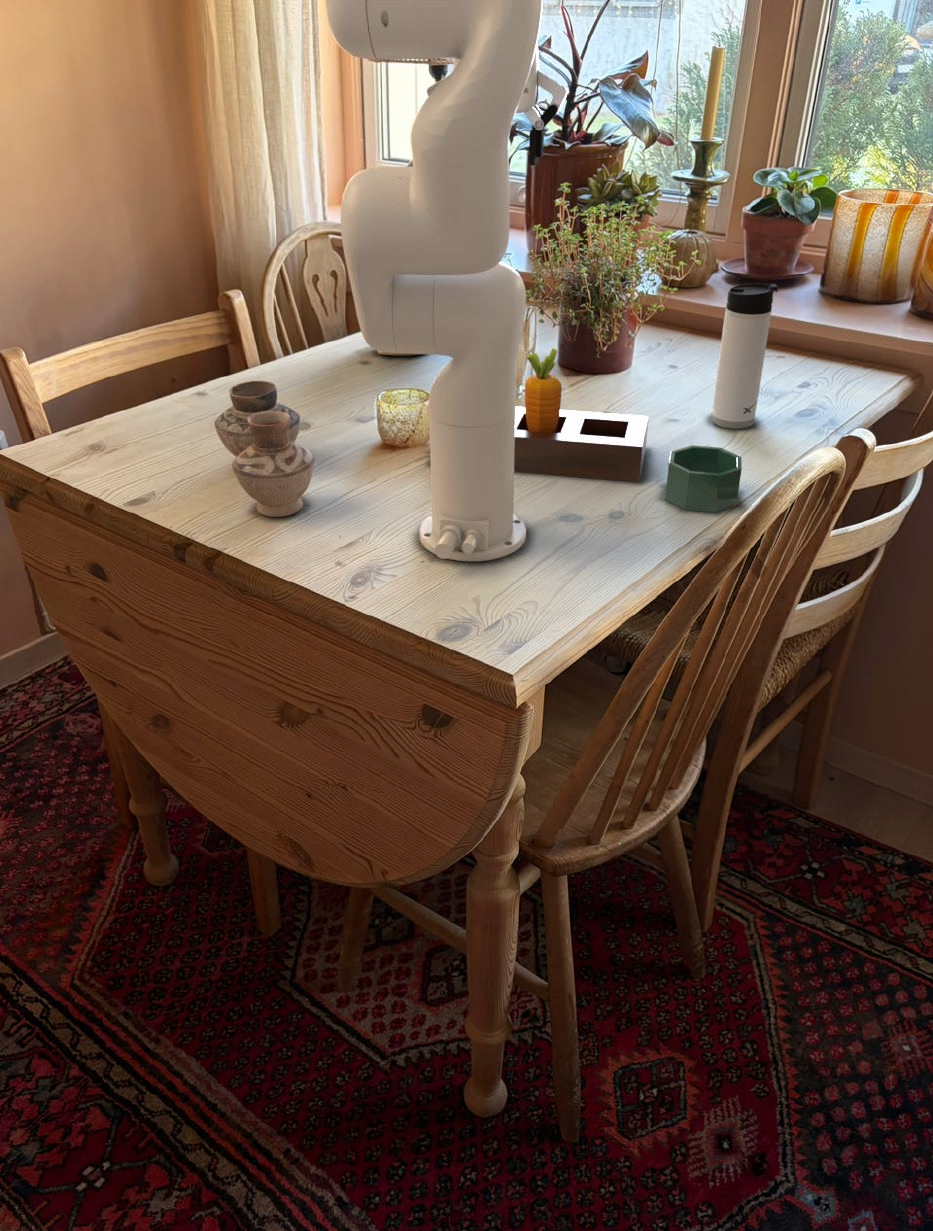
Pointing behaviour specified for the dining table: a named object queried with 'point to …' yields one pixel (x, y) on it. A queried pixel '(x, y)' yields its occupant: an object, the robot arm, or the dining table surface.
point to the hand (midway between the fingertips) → (496, 163)
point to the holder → (703, 478)
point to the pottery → (266, 448)
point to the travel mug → (742, 354)
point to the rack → (583, 446)
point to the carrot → (542, 395)
